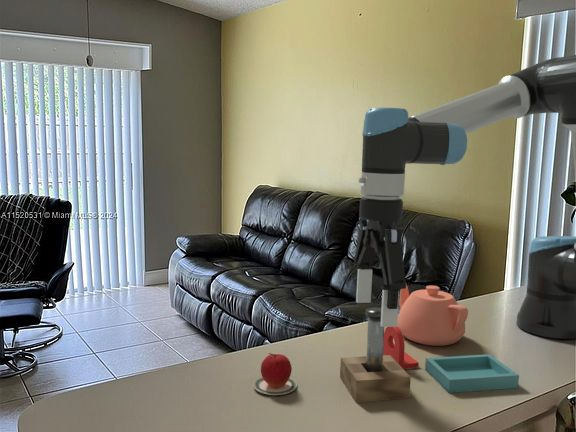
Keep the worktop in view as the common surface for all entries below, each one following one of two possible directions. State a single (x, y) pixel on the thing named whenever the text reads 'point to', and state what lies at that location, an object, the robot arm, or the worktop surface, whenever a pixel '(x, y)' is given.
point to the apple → (275, 376)
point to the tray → (471, 373)
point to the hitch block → (374, 380)
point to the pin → (374, 340)
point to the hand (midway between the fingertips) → (375, 313)
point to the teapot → (431, 316)
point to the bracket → (397, 348)
